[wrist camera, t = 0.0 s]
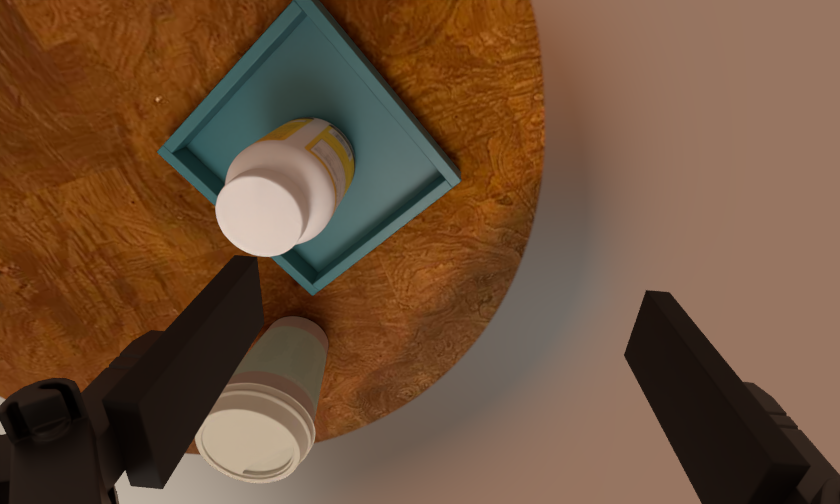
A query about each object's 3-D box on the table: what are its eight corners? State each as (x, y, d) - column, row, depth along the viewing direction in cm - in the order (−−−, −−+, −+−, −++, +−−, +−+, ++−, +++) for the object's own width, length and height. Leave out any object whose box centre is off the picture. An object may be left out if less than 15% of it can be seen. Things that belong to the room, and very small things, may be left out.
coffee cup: (263, 376, 45) (205, 487, 34) (243, 303, 41) (171, 403, 30) (348, 376, 44) (316, 489, 33) (336, 302, 40) (296, 403, 30)
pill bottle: (256, 162, 35) (174, 222, 24) (303, 95, 32) (234, 130, 22) (326, 215, 36) (276, 292, 26) (375, 155, 34) (342, 213, 24)
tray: (312, -9, 29) (302, -11, 27) (460, 172, 34) (461, 181, 32) (172, 144, 35) (156, 152, 33) (319, 282, 39) (312, 296, 37)
